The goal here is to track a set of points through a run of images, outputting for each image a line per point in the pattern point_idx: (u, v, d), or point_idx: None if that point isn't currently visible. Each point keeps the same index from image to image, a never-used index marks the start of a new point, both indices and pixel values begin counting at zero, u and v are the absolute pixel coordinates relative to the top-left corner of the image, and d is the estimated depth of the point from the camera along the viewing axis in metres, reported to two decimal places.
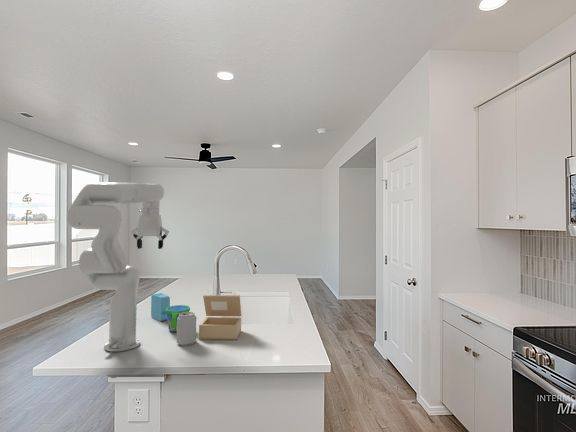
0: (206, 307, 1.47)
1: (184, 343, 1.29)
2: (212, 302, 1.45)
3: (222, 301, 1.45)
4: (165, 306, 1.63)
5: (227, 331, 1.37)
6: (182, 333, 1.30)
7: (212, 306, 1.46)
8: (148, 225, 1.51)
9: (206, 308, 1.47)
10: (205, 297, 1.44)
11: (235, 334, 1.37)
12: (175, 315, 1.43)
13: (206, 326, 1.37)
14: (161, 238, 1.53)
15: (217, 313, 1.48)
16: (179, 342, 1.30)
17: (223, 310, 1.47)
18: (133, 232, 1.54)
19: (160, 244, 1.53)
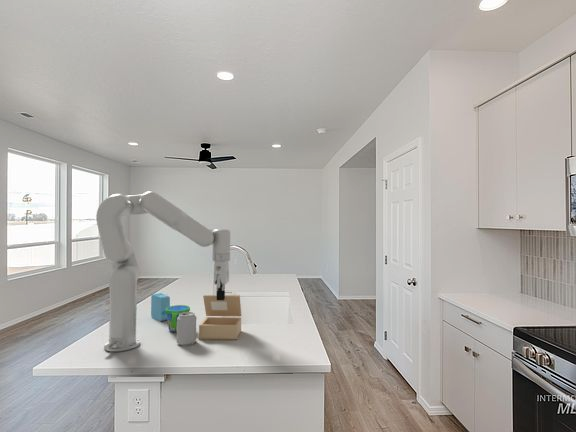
0: (206, 307, 1.47)
1: (184, 343, 1.29)
2: (212, 302, 1.45)
3: (222, 301, 1.45)
4: (165, 306, 1.63)
5: (227, 331, 1.37)
6: (182, 333, 1.30)
7: (212, 306, 1.46)
8: (227, 271, 1.42)
9: (206, 308, 1.47)
10: (205, 297, 1.44)
11: (235, 334, 1.37)
12: (175, 315, 1.43)
13: (206, 326, 1.37)
14: None
15: (217, 313, 1.48)
16: (179, 342, 1.30)
17: (223, 310, 1.47)
18: (220, 286, 1.38)
19: None
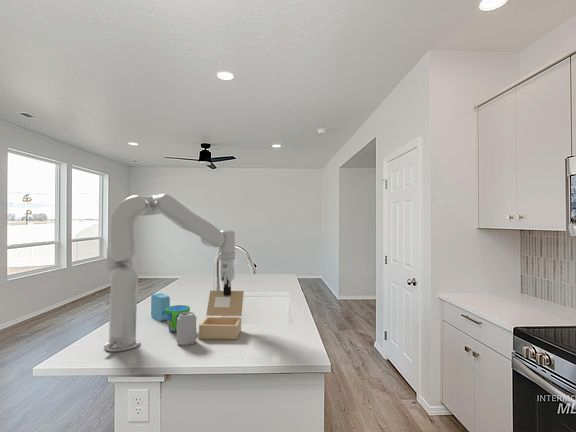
0: (209, 304, 1.52)
1: (184, 343, 1.29)
2: (217, 298, 1.54)
3: (226, 297, 1.55)
4: (165, 306, 1.63)
5: (227, 331, 1.37)
6: (182, 333, 1.30)
7: (216, 303, 1.53)
8: (233, 269, 1.55)
9: (209, 305, 1.52)
10: (211, 292, 1.56)
11: (235, 334, 1.37)
12: (175, 315, 1.43)
13: (206, 326, 1.37)
14: None
15: (218, 311, 1.50)
16: (179, 342, 1.30)
17: (225, 307, 1.52)
18: (226, 282, 1.51)
19: None
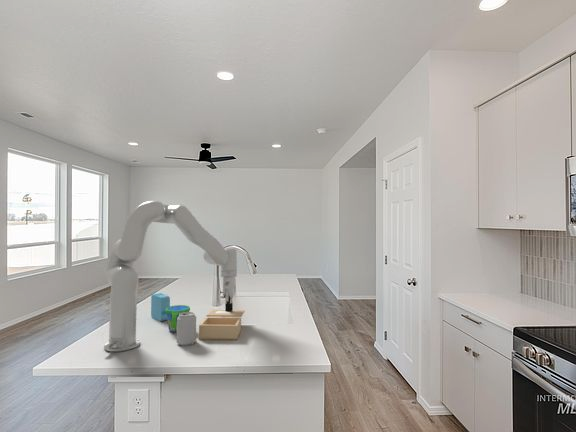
0: (210, 312, 1.55)
1: (184, 343, 1.29)
2: (218, 311, 1.58)
3: (227, 311, 1.58)
4: (165, 306, 1.63)
5: (227, 331, 1.37)
6: (182, 333, 1.30)
7: (217, 312, 1.55)
8: (234, 286, 1.59)
9: (210, 313, 1.54)
10: (214, 310, 1.61)
11: (235, 334, 1.37)
12: (175, 315, 1.43)
13: (206, 326, 1.37)
14: None
15: (218, 314, 1.51)
16: (179, 342, 1.30)
17: (225, 313, 1.53)
18: (228, 299, 1.55)
19: None
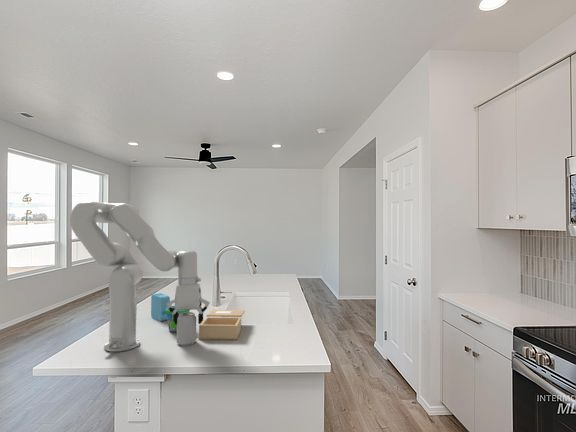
0: (210, 312, 1.55)
1: (184, 343, 1.29)
2: (218, 311, 1.58)
3: (227, 311, 1.58)
4: (165, 306, 1.63)
5: (227, 331, 1.37)
6: (182, 333, 1.30)
7: (217, 312, 1.55)
8: None
9: (210, 313, 1.54)
10: (214, 310, 1.61)
11: (235, 334, 1.37)
12: None
13: (206, 326, 1.37)
14: None
15: (218, 314, 1.51)
16: (179, 342, 1.30)
17: (225, 313, 1.53)
18: None
19: None
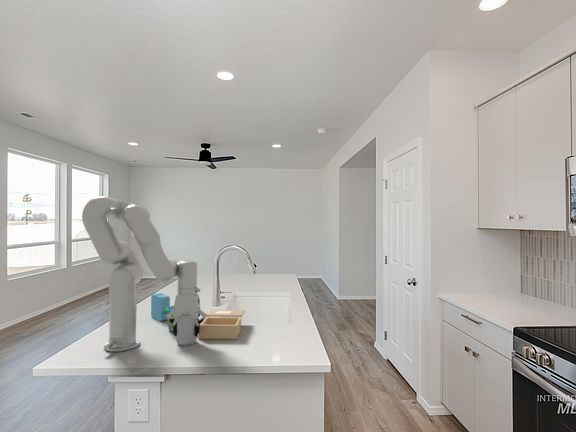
0: (210, 312, 1.55)
1: (184, 343, 1.29)
2: (218, 311, 1.58)
3: (227, 311, 1.58)
4: (165, 306, 1.63)
5: (227, 331, 1.37)
6: (182, 333, 1.30)
7: (217, 312, 1.55)
8: None
9: (210, 313, 1.54)
10: (214, 310, 1.61)
11: (235, 334, 1.37)
12: None
13: (206, 326, 1.37)
14: None
15: (218, 314, 1.51)
16: (179, 342, 1.30)
17: (225, 313, 1.53)
18: None
19: None
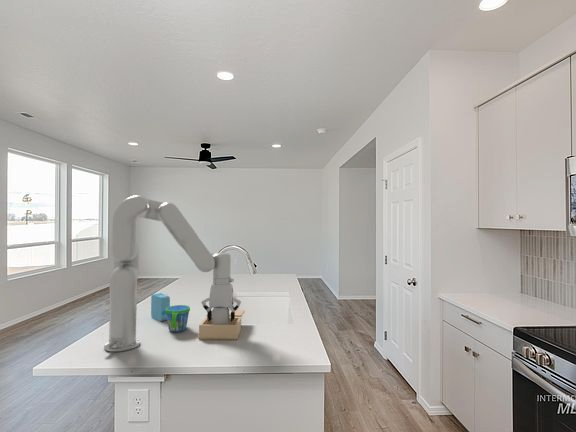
0: None
1: None
2: None
3: None
4: (165, 306, 1.63)
5: (227, 331, 1.37)
6: (217, 324, 1.39)
7: None
8: None
9: None
10: None
11: (235, 334, 1.37)
12: (175, 315, 1.43)
13: (206, 326, 1.37)
14: None
15: None
16: None
17: None
18: None
19: None
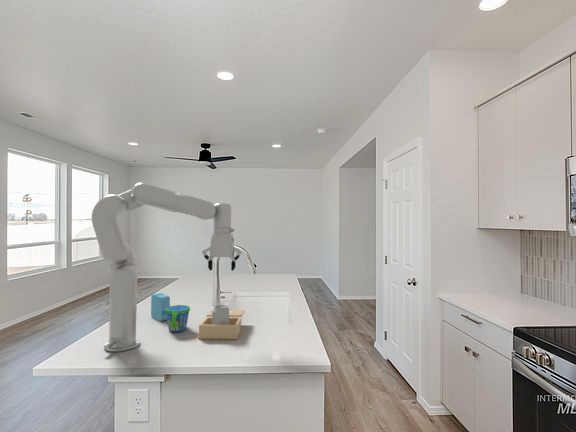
0: (210, 312, 1.55)
1: None
2: None
3: None
4: (165, 306, 1.63)
5: (227, 331, 1.37)
6: (217, 324, 1.39)
7: None
8: None
9: (210, 313, 1.54)
10: None
11: (235, 334, 1.37)
12: (175, 315, 1.43)
13: (206, 326, 1.37)
14: None
15: None
16: None
17: None
18: None
19: None
